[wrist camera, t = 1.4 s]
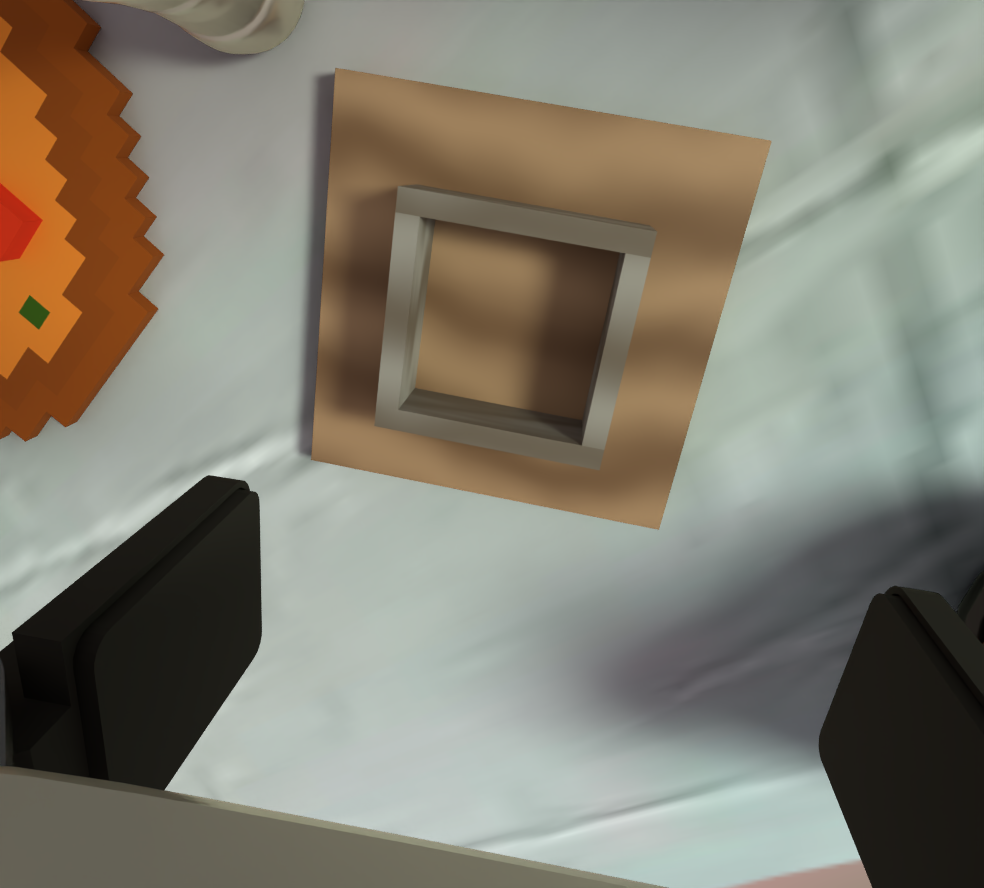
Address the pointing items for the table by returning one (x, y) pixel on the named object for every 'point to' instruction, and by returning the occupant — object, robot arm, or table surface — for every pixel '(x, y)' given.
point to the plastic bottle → (228, 21)
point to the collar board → (521, 292)
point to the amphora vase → (974, 608)
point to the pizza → (64, 218)
